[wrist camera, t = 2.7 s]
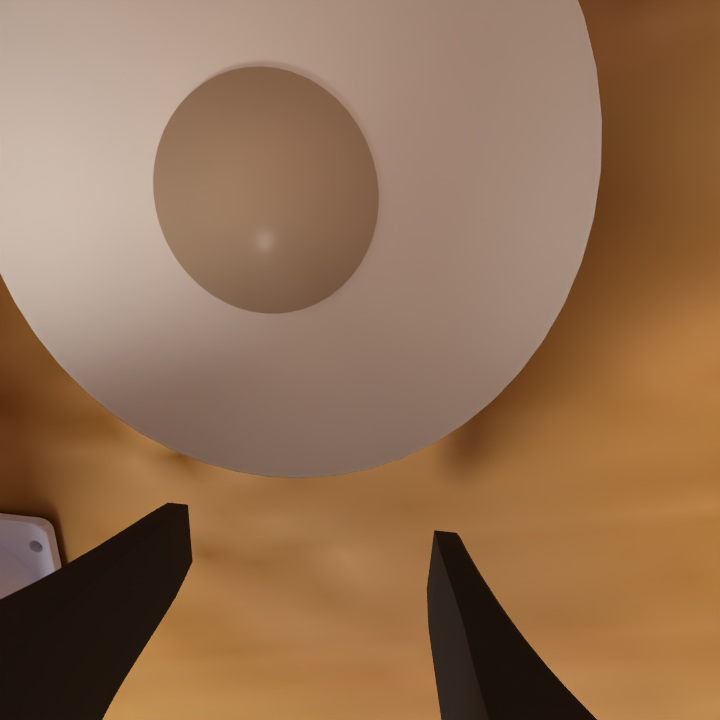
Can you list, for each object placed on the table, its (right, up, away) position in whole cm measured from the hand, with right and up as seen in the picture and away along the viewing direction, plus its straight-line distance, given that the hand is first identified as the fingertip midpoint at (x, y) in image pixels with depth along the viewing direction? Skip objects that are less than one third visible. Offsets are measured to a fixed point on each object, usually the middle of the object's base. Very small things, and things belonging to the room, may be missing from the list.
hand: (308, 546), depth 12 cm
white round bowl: (+1, +9, 0) cm, 9 cm away
